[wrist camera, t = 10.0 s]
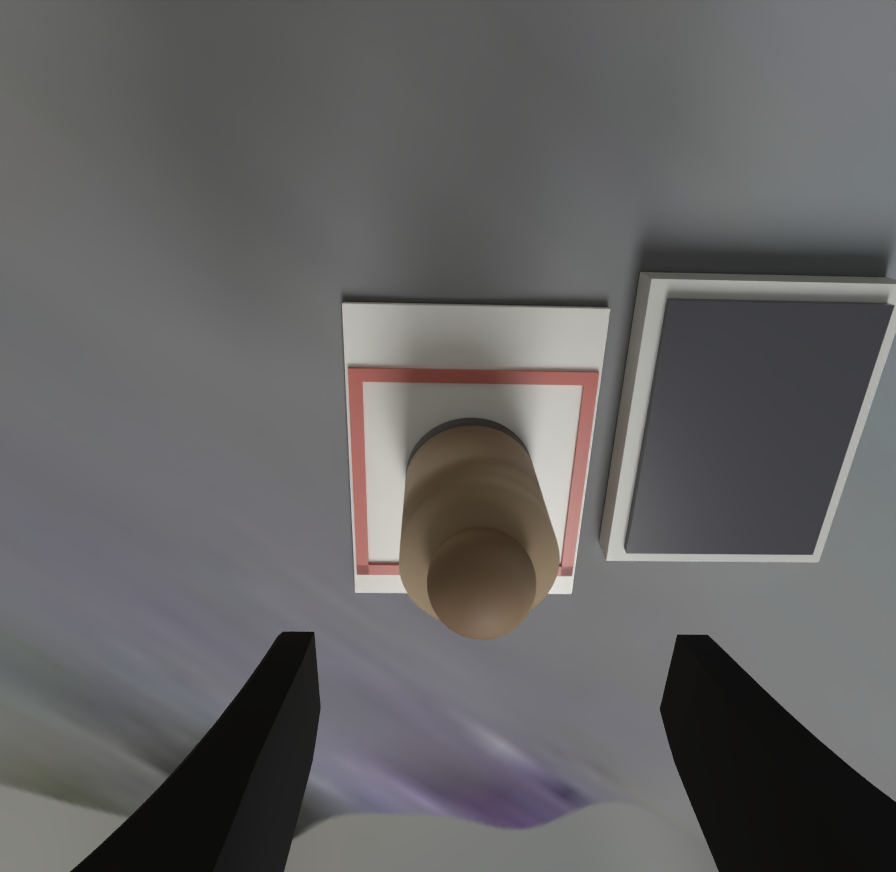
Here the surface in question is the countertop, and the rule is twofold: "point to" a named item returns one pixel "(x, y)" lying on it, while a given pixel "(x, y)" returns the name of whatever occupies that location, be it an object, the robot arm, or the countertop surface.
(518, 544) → the stamp
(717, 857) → the robot arm
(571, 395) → the sheet
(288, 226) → the countertop surface
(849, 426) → the ink pad
